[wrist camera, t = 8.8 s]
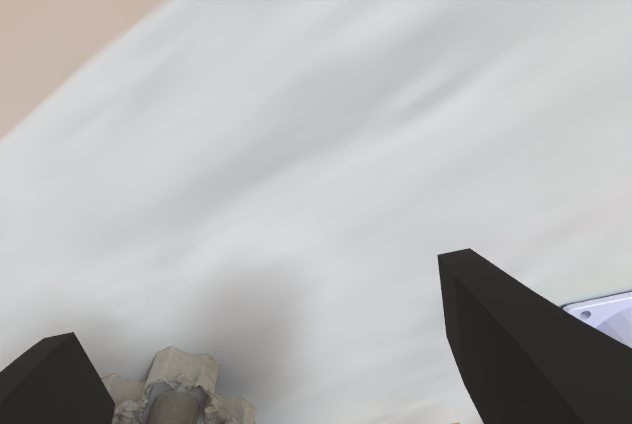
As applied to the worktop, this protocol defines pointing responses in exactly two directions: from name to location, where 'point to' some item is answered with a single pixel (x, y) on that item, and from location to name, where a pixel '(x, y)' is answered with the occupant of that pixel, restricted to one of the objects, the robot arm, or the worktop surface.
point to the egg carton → (177, 393)
